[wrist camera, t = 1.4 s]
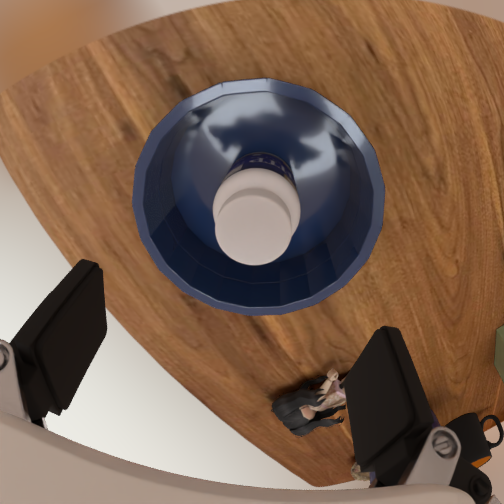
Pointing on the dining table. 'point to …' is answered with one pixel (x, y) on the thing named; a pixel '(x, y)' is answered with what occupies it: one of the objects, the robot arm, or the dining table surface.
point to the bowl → (307, 183)
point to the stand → (499, 352)
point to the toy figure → (311, 405)
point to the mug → (474, 438)
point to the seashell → (359, 473)
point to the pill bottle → (256, 209)
